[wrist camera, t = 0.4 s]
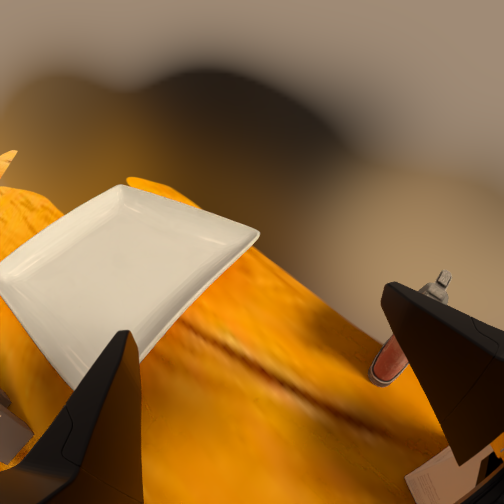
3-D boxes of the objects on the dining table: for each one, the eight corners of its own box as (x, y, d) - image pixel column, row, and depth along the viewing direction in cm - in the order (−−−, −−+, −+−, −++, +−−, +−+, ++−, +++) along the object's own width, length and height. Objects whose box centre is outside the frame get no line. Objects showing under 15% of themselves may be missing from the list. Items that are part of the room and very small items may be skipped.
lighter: (386, 394, 23) (442, 328, 16) (360, 373, 24) (405, 302, 18) (421, 342, 27) (466, 275, 21) (398, 326, 29) (436, 256, 23)
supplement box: (428, 537, 11) (547, 510, 3) (401, 476, 16) (508, 419, 8) (484, 491, 12) (588, 435, 4) (458, 437, 18) (552, 363, 10)
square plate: (122, 200, 48) (119, 180, 45) (261, 254, 38) (264, 228, 36) (-5, 289, 29) (-16, 268, 26) (110, 426, 19) (92, 409, 17)
